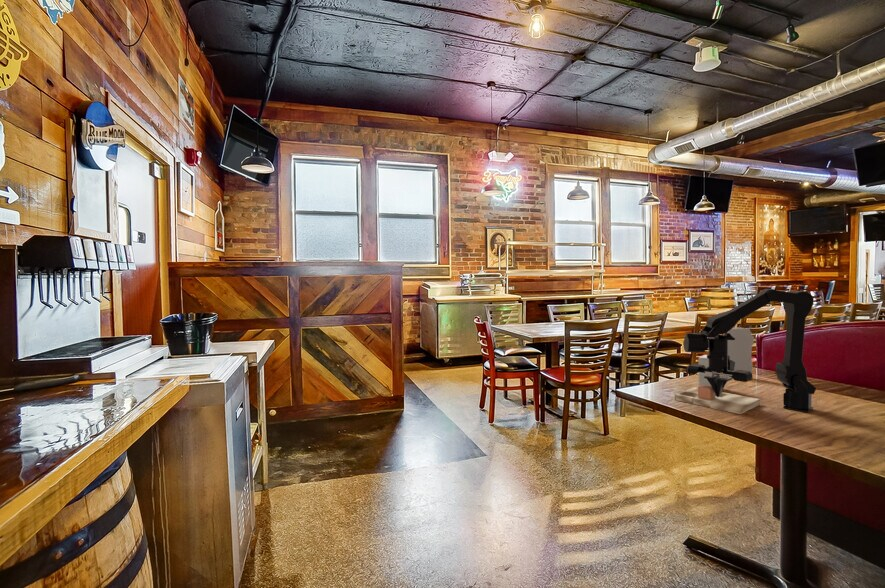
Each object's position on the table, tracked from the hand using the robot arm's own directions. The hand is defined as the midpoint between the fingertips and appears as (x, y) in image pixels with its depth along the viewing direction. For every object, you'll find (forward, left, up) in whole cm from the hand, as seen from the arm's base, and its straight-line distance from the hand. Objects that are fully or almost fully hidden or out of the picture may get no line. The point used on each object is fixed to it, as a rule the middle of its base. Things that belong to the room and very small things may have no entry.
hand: (718, 396), depth 150 cm
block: (+4, 0, -1) cm, 4 cm away
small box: (+11, -20, -3) cm, 23 cm away
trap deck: (+2, -4, -3) cm, 5 cm away
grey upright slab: (+12, -49, -3) cm, 51 cm away
